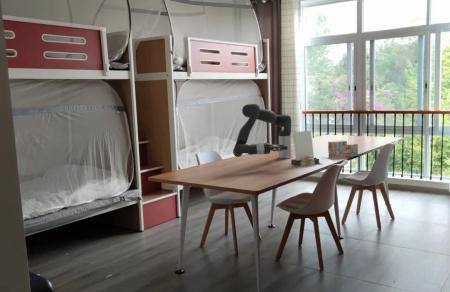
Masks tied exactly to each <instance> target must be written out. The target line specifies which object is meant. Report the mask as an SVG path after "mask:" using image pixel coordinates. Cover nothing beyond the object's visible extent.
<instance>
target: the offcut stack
mask: <svg viewBox="0 0 450 292" xmlns="http://www.w3.org/2000/svg"><path fill="white" fill-rule="evenodd" d="M300 165H301V166H300V167H308V166H309V165H311V166H316V165H315V160H314V159H313V158H312V156H301V162H300ZM309 167H310V166H309Z"/></svg>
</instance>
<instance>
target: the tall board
mask: <svg viewBox="0 0 450 292" xmlns="http://www.w3.org/2000/svg"><path fill="white" fill-rule="evenodd" d="M292 136H293V143H294V144H293V146H294V155H295V159H296V160H301V156H312V158H313V159H314V158H315V155H314V146H313V137H312V136H313V135H312V131H311V130H304V131H302V130H301V131H294V132H293V133H292Z"/></svg>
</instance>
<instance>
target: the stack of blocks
mask: <svg viewBox="0 0 450 292" xmlns="http://www.w3.org/2000/svg"><path fill="white" fill-rule="evenodd" d="M327 143H328V144H327V145H328V146H327V149H328V152H327V153H328V158H329V159H340V158H350V157H358V156H359V144H358V143H354V142H352V143H348V142H347V140H342V139H341V140H333V141H328V142H327Z"/></svg>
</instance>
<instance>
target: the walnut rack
mask: <svg viewBox="0 0 450 292" xmlns="http://www.w3.org/2000/svg"><path fill="white" fill-rule="evenodd" d="M314 160H315V165H314V166H318V165H319V166H321V165H324V163H321V162H320V158H317V157H314ZM300 162H301V160H296V158H295V159H291V160H290V165H291V166H292V167H294V168H296V167H297V168H298V167H302V166H301V165H300ZM310 166H312V165H309V167H310Z"/></svg>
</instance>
